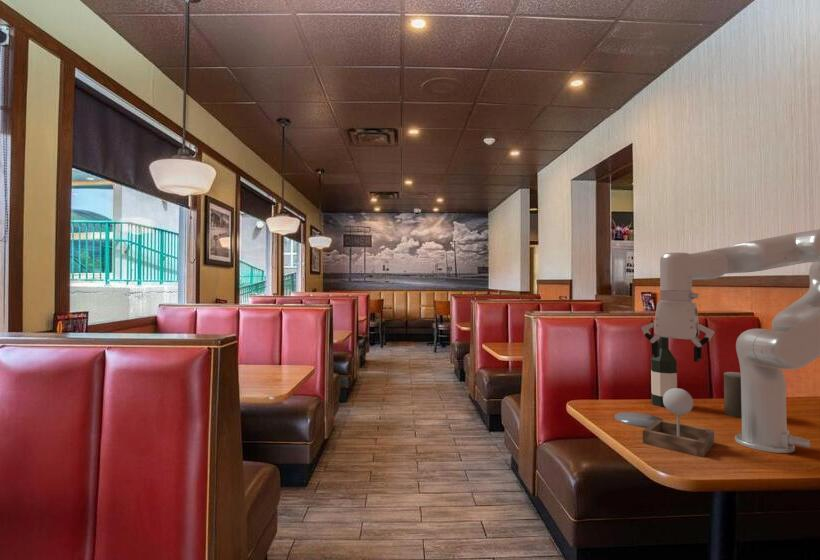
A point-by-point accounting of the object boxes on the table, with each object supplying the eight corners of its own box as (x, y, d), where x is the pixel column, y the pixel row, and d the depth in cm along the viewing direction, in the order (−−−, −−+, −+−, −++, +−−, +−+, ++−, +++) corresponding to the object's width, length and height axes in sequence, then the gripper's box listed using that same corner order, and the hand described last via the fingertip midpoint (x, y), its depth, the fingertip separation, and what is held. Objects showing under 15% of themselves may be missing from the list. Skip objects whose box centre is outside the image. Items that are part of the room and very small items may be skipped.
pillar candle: (746, 420, 138) (745, 374, 138) (717, 412, 147) (716, 368, 148) (768, 418, 140) (767, 372, 141) (738, 410, 150) (737, 367, 150)
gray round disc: (669, 420, 138) (669, 418, 138) (657, 431, 128) (657, 428, 128) (623, 412, 147) (623, 409, 148) (608, 421, 137) (608, 418, 137)
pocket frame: (714, 442, 118) (713, 430, 118) (703, 457, 108) (703, 443, 108) (657, 431, 128) (657, 419, 128) (642, 443, 118) (642, 430, 118)
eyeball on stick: (685, 439, 121) (684, 385, 121) (699, 448, 114) (698, 391, 114) (658, 438, 122) (657, 385, 122) (671, 447, 115) (670, 391, 115)
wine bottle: (682, 409, 151) (681, 324, 152) (659, 408, 151) (657, 324, 152) (669, 402, 160) (667, 322, 160) (646, 402, 160) (645, 322, 161)
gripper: (716, 297, 115) (716, 361, 115) (645, 296, 127) (645, 354, 127) (710, 298, 110) (711, 364, 110) (637, 296, 122) (637, 357, 122)
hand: (676, 359), depth 118 cm, fingers open, 9 cm apart
